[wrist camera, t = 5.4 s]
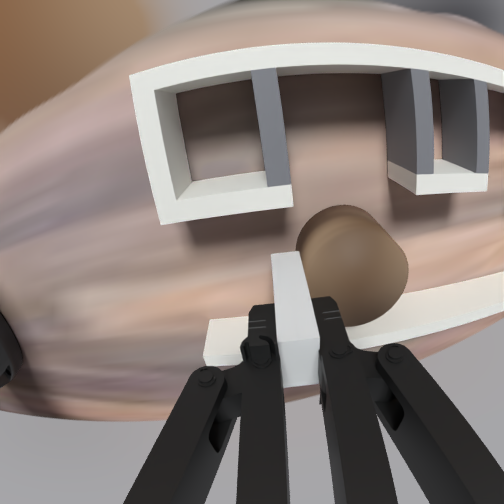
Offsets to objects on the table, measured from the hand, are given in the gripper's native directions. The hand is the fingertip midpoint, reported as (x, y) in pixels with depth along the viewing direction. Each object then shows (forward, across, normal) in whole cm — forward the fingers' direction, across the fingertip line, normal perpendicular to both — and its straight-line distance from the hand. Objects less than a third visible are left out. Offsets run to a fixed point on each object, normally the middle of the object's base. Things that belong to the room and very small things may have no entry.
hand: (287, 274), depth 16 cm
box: (+2, +9, +3) cm, 10 cm away
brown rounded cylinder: (+2, +3, 0) cm, 4 cm away
